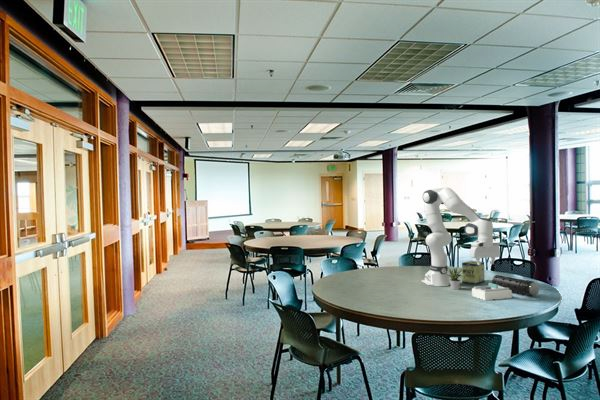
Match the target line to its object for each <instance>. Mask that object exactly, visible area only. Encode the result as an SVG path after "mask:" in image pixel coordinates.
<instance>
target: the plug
mask: <svg viewBox="0 0 600 400" xmlns="http://www.w3.org/2000/svg"><path fill="white" fill-rule="evenodd" d="M480 286H481V290H487V289H491V287H489V285H480Z"/></svg>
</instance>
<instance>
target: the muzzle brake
mask: <svg viewBox="0 0 600 400" xmlns="http://www.w3.org/2000/svg"><path fill="white" fill-rule="evenodd" d="M491 281H492V282H491V283H493V284H496V285H499V286H501V287H505V288H509V290H512V293H516V294H520V295H521V294H522V295H521V296H524V295H527V296H529V297H533V296H537V295H538V294H539V292H540V286H539V284H538V283H537V282H535V281H533V280H527V279H526V280H525V279H520V278H515V277H510V276H505V275H501V274H495V275H493V277H492V280H491Z"/></svg>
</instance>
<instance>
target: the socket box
mask: <svg viewBox="0 0 600 400" xmlns="http://www.w3.org/2000/svg"><path fill="white" fill-rule="evenodd" d="M481 286H482V285H476V286H474V287H472V288H471V296H472V297H474V298H477V299H479V298H480V299H479V300H482V299H483V301H494V300H493V299H495V300H504V299H505V298H506V299H513V297H512V296H513V294H512V293H513V292H512V290H509V288H499V289H487V290H481ZM498 286H499V285H498Z"/></svg>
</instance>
